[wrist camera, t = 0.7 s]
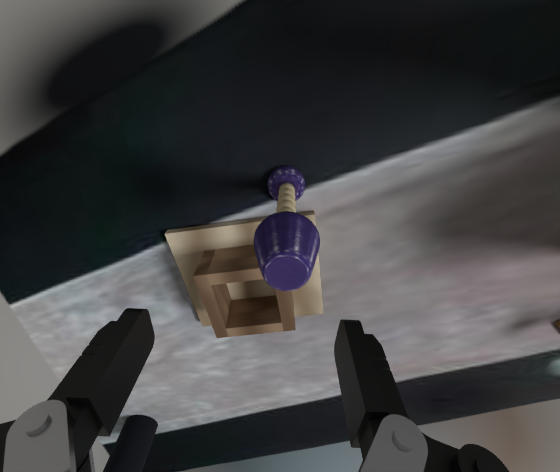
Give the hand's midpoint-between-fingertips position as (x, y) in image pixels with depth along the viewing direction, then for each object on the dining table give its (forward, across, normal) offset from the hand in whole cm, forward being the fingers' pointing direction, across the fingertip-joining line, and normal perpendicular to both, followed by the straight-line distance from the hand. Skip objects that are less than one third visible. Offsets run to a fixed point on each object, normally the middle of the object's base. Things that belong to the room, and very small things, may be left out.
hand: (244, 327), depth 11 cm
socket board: (+21, +2, +14) cm, 25 cm away
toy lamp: (+22, -2, +1) cm, 22 cm away
